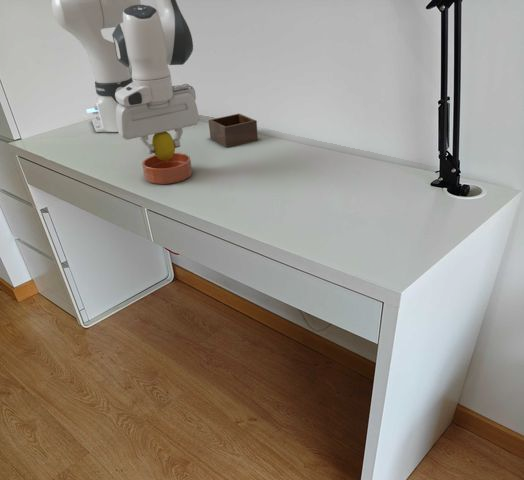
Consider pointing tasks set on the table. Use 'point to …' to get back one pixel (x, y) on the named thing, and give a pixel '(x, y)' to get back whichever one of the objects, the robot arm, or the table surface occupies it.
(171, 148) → the lemon
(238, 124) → the holder
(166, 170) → the bowl
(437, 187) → the table surface
